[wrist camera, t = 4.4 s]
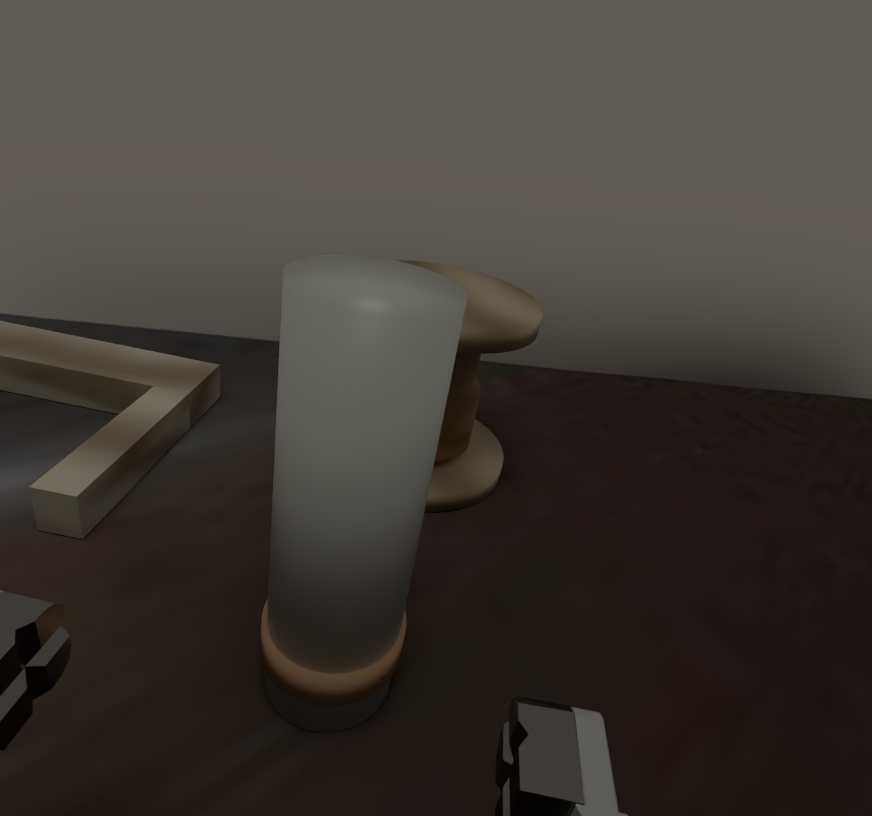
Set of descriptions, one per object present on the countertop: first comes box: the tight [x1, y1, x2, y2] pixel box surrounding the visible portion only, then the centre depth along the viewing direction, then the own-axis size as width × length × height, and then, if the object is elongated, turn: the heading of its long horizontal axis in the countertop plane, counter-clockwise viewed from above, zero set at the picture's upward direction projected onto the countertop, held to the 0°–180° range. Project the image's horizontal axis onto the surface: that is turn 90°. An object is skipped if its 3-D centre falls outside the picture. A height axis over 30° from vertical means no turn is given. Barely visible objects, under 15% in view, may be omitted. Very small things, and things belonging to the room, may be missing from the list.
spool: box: [395, 260, 543, 512], centre depth 29 cm, size 9×9×9 cm
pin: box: [260, 254, 467, 732], centre depth 16 cm, size 4×4×13 cm
